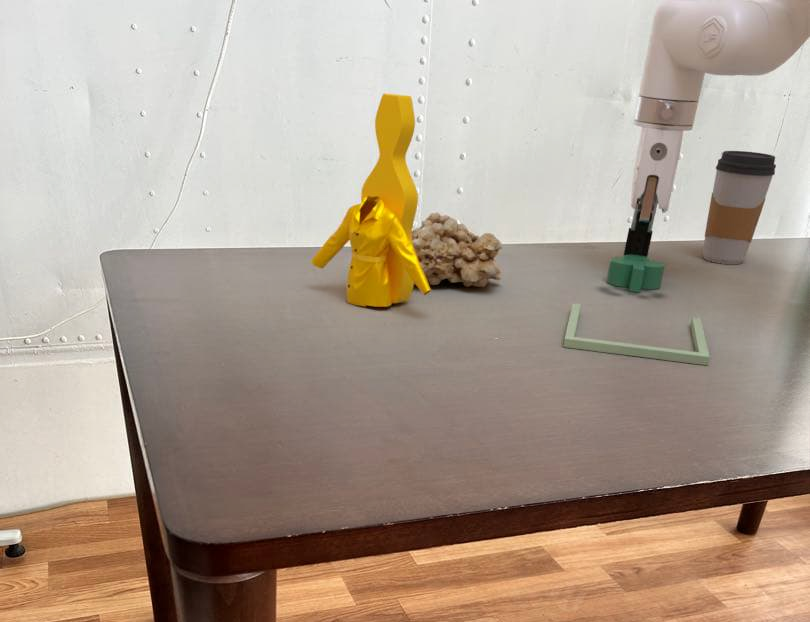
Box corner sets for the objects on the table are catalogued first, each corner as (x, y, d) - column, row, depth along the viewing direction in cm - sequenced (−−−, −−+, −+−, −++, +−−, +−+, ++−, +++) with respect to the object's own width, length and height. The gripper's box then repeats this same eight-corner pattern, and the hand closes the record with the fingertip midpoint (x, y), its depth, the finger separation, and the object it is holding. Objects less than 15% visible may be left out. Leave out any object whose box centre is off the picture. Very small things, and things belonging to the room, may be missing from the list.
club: (662, 294, 108) (667, 271, 106) (607, 289, 109) (611, 266, 107) (657, 279, 115) (662, 257, 113) (605, 274, 116) (609, 252, 114)
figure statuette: (300, 292, 100) (297, 87, 88) (343, 280, 105) (345, 86, 94) (417, 325, 91) (430, 103, 80) (456, 311, 97) (474, 101, 85)
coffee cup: (749, 269, 123) (779, 160, 115) (692, 261, 125) (717, 154, 117) (750, 257, 129) (778, 154, 121) (696, 250, 132) (720, 148, 124)
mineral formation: (397, 291, 102) (395, 254, 114) (499, 312, 104) (487, 274, 116) (412, 226, 98) (408, 195, 110) (518, 250, 100) (503, 217, 112)
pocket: (571, 311, 99) (572, 303, 99) (698, 326, 97) (700, 318, 96) (563, 347, 88) (564, 338, 87) (707, 365, 85) (709, 356, 85)
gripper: (698, 122, 99) (662, 276, 109) (692, 112, 111) (660, 251, 121) (634, 116, 100) (605, 269, 110) (636, 107, 112) (609, 245, 122)
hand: (634, 259), depth 115 cm, fingers closed
